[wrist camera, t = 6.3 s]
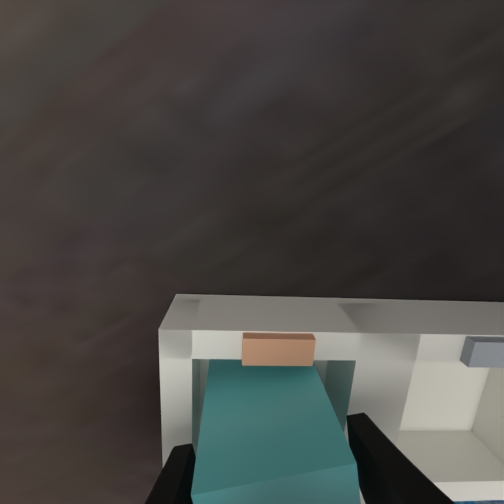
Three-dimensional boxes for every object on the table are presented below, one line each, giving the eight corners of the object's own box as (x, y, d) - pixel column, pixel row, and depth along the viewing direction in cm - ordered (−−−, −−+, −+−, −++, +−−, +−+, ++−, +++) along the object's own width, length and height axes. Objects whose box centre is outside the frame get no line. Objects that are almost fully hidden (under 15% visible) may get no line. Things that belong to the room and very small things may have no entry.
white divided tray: (520, 302, 13) (612, 342, 10) (477, 438, 15) (543, 509, 12) (176, 293, 12) (155, 335, 9) (178, 442, 14) (161, 520, 11)
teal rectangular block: (300, 331, 13) (356, 463, 7) (310, 405, 14) (368, 574, 8) (211, 348, 12) (191, 495, 7) (228, 420, 14) (224, 602, 8)
